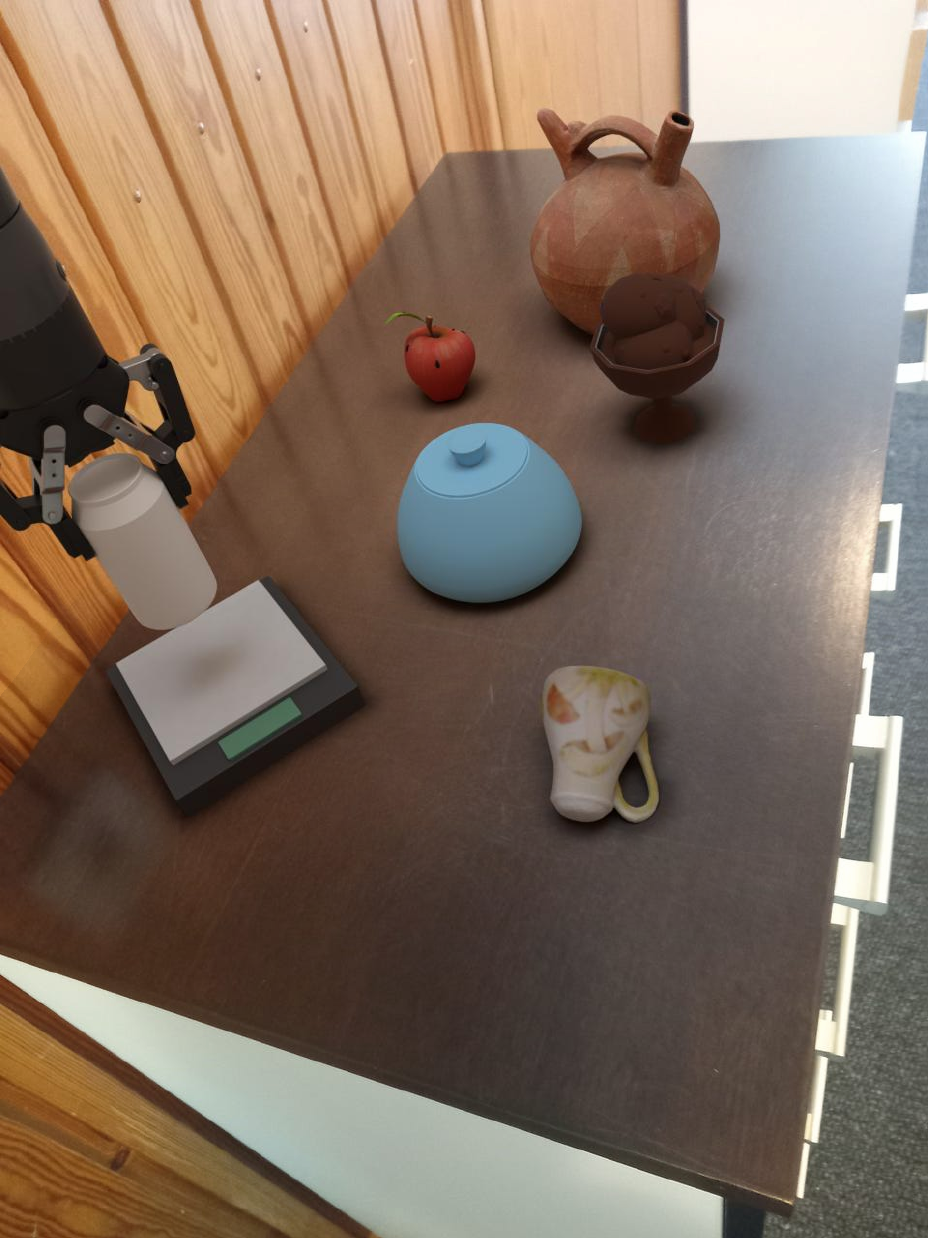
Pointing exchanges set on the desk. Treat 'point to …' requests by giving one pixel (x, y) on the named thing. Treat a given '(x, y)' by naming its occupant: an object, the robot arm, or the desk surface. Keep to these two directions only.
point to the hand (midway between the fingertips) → (133, 526)
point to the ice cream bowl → (657, 347)
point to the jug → (620, 214)
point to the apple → (438, 359)
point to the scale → (232, 693)
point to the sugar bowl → (486, 515)
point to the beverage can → (141, 540)
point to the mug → (596, 740)
